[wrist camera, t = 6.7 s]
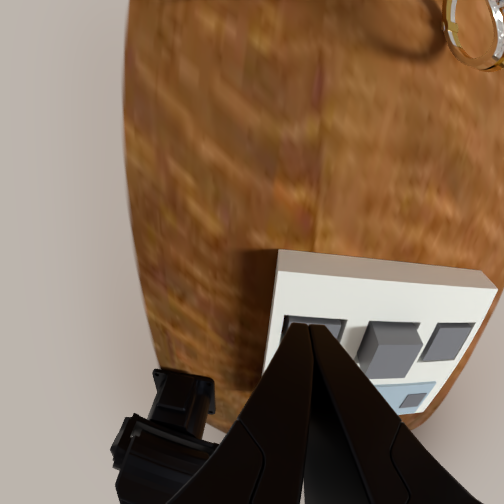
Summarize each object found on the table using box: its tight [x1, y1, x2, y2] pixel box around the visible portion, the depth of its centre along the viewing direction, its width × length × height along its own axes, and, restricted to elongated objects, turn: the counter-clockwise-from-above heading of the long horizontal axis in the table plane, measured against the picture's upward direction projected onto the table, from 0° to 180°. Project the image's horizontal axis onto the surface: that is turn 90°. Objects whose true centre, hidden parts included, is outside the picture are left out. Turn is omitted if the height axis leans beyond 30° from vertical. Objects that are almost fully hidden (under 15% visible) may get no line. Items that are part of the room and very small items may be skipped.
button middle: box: [357, 321, 423, 379], centre depth 19 cm, size 4×4×3 cm
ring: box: [441, 0, 504, 72], centre depth 8 cm, size 7×3×8 cm, turn 1°
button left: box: [283, 315, 341, 339], centre depth 21 cm, size 4×4×3 cm
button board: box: [262, 249, 498, 415], centre depth 22 cm, size 16×18×3 cm
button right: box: [420, 323, 472, 361], centre depth 21 cm, size 4×4×3 cm
